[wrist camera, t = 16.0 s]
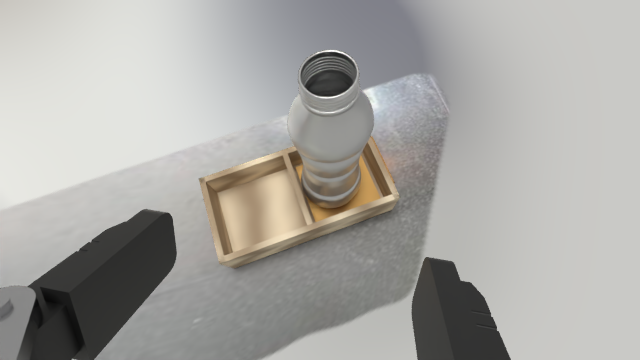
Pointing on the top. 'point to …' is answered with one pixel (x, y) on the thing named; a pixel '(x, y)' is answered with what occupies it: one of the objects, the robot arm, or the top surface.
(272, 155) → the tray
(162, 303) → the top surface
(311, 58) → the plastic bottle
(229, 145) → the top surface
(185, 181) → the top surface
